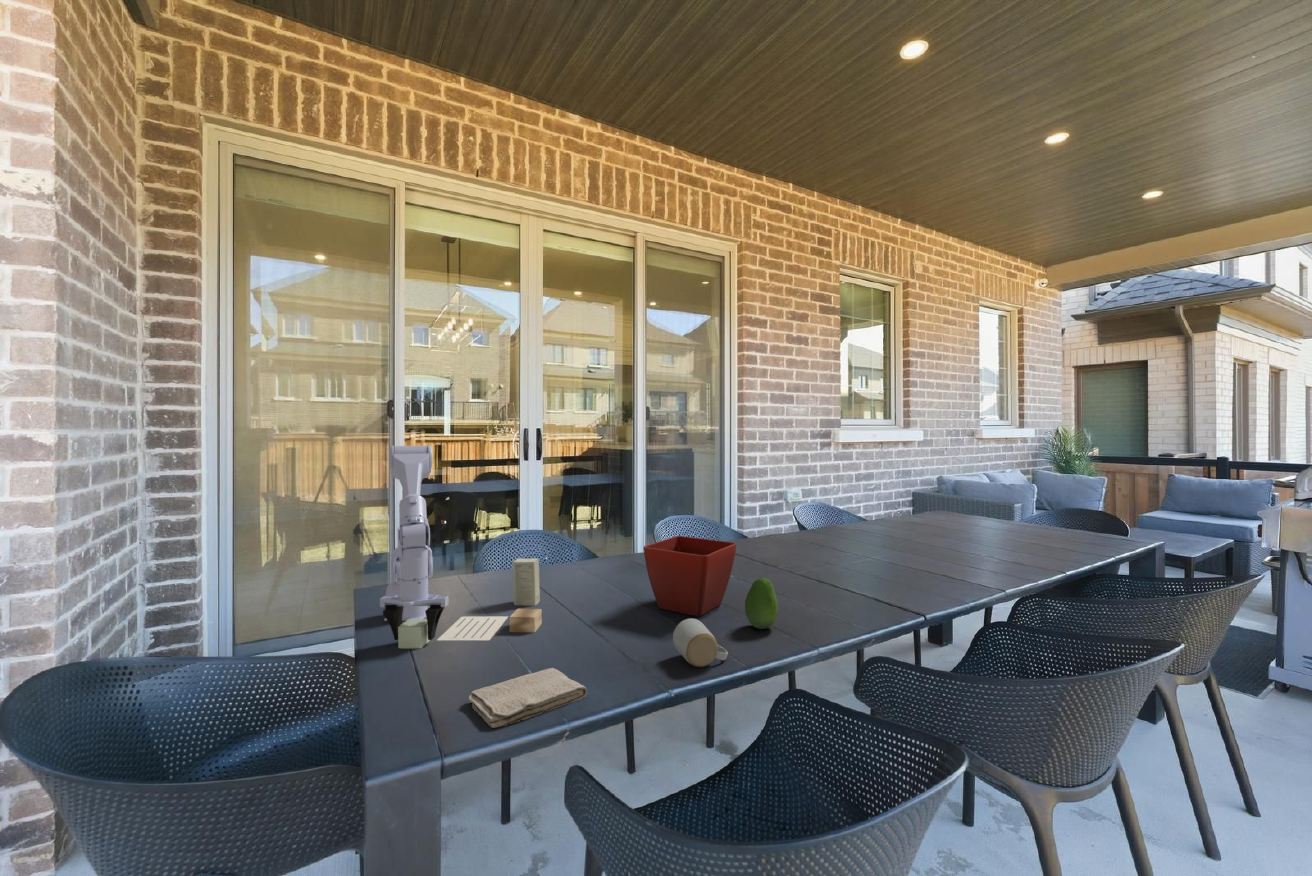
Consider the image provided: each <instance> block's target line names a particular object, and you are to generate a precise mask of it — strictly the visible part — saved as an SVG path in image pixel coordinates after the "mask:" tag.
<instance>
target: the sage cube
mask: <svg viewBox="0 0 1312 876" xmlns="http://www.w3.org/2000/svg"><path fill="white" fill-rule="evenodd" d="M397 641H398V642H397V643H398V644H397V645H398V649H423V647H424V646H426V644H428V643H429V642H430V641H431V640H428V623H427V618H424V619H408V620H407V621H403V622H402V625H400V626H399V627H398V640H397Z"/></svg>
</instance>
